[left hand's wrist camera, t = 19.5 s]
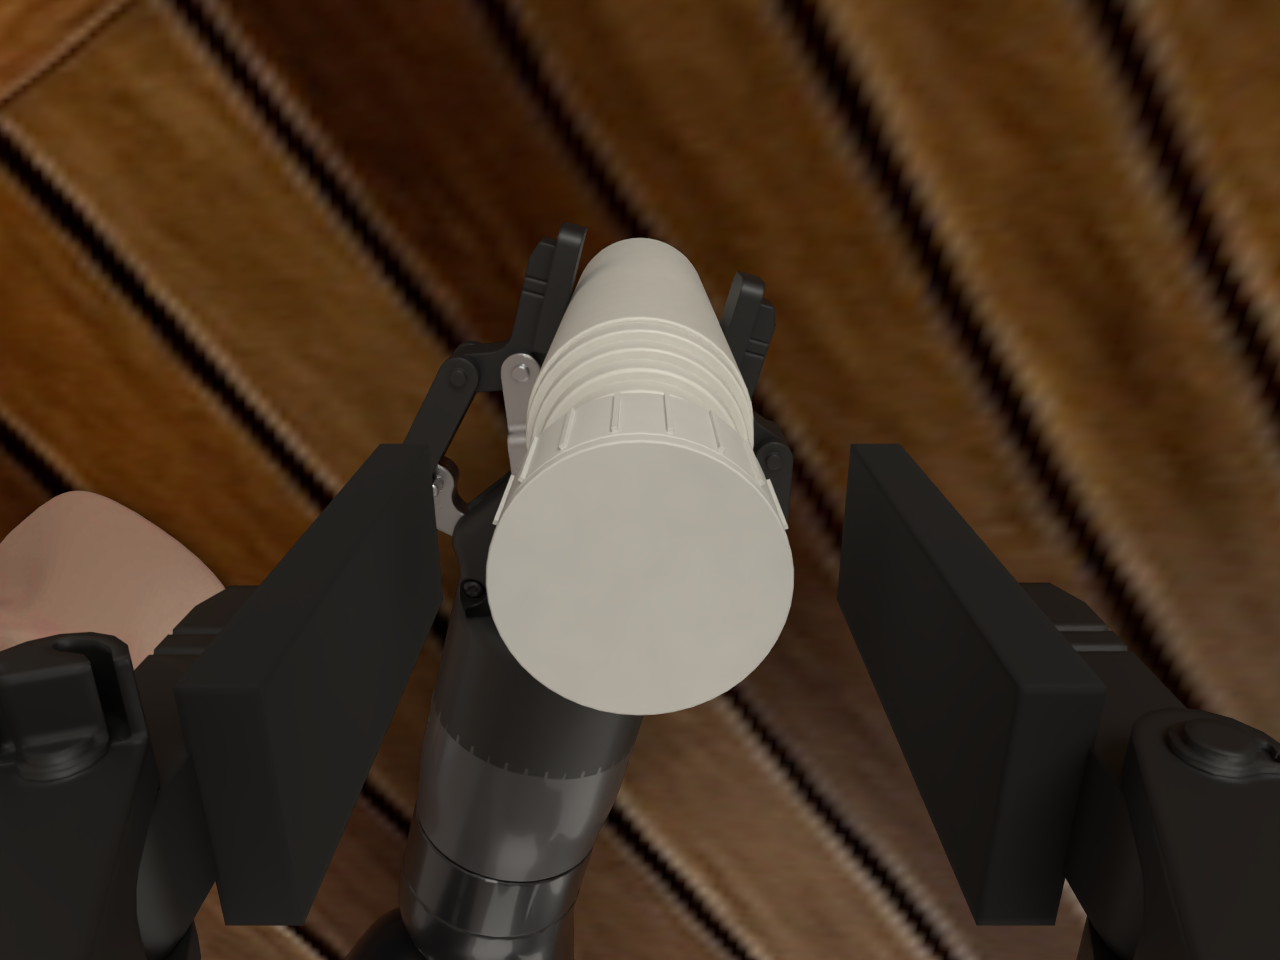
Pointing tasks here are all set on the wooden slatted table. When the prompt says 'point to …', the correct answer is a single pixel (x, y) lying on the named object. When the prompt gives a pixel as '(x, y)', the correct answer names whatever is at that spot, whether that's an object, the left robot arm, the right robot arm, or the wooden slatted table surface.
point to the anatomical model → (96, 575)
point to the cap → (639, 557)
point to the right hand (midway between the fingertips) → (661, 254)
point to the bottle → (639, 340)
